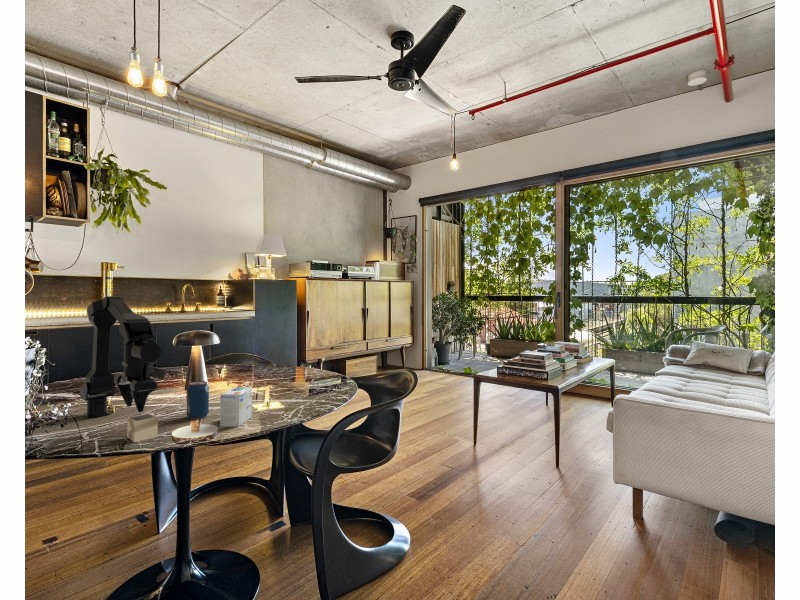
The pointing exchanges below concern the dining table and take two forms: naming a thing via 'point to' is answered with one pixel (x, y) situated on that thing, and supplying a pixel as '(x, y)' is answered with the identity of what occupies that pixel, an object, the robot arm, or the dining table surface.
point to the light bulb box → (235, 406)
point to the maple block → (142, 427)
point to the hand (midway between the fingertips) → (134, 409)
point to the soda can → (197, 400)
